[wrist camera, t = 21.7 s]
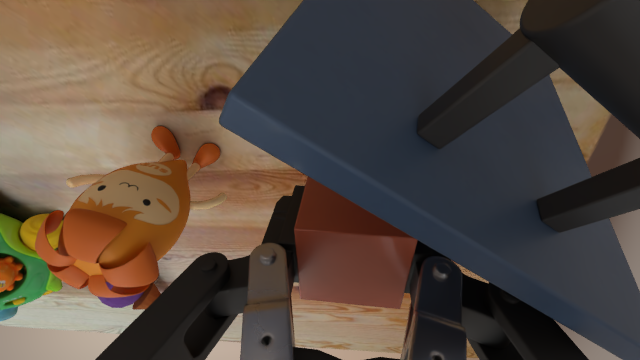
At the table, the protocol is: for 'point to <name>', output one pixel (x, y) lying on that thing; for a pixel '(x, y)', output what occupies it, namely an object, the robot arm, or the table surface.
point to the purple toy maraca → (133, 298)
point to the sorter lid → (465, 138)
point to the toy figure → (125, 222)
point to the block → (349, 252)
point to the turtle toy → (23, 264)
